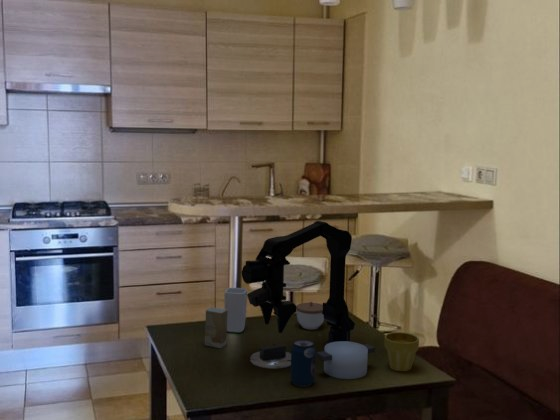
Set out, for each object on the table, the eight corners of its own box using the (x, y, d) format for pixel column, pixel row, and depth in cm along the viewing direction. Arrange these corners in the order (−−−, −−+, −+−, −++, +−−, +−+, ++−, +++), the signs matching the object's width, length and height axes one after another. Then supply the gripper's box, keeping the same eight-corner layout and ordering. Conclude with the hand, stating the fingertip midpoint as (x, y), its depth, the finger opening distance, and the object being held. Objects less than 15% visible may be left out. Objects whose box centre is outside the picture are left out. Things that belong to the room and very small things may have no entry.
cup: (227, 327, 236) (228, 287, 234) (247, 328, 235) (247, 288, 233) (223, 333, 229) (223, 292, 227) (243, 334, 228) (244, 293, 226)
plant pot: (397, 376, 194) (398, 344, 192) (376, 364, 203) (378, 334, 201) (424, 370, 198) (426, 340, 197) (403, 359, 207) (404, 330, 206)
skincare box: (204, 345, 216) (204, 310, 214) (210, 341, 220) (210, 306, 218) (221, 348, 213) (221, 312, 212) (227, 344, 217) (227, 309, 216)
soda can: (317, 386, 184) (318, 346, 183) (293, 388, 183) (294, 347, 181) (311, 377, 191) (312, 338, 190) (288, 378, 190) (289, 339, 188)
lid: (281, 351, 214) (282, 336, 213) (303, 365, 202) (303, 350, 201) (243, 357, 207) (243, 342, 207) (262, 372, 195) (263, 357, 194)
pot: (358, 359, 207) (359, 337, 206) (383, 373, 196) (384, 350, 195) (307, 368, 198) (308, 346, 197) (330, 383, 187) (331, 360, 186)
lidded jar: (330, 327, 239) (331, 302, 238) (312, 333, 231) (313, 308, 230) (308, 320, 246) (308, 296, 245) (289, 326, 238) (290, 302, 237)
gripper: (238, 275, 205) (237, 323, 207) (264, 289, 189) (263, 341, 191) (269, 272, 210) (268, 318, 213) (297, 285, 194) (296, 335, 196)
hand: (273, 328), depth 203 cm, fingers open, 9 cm apart
